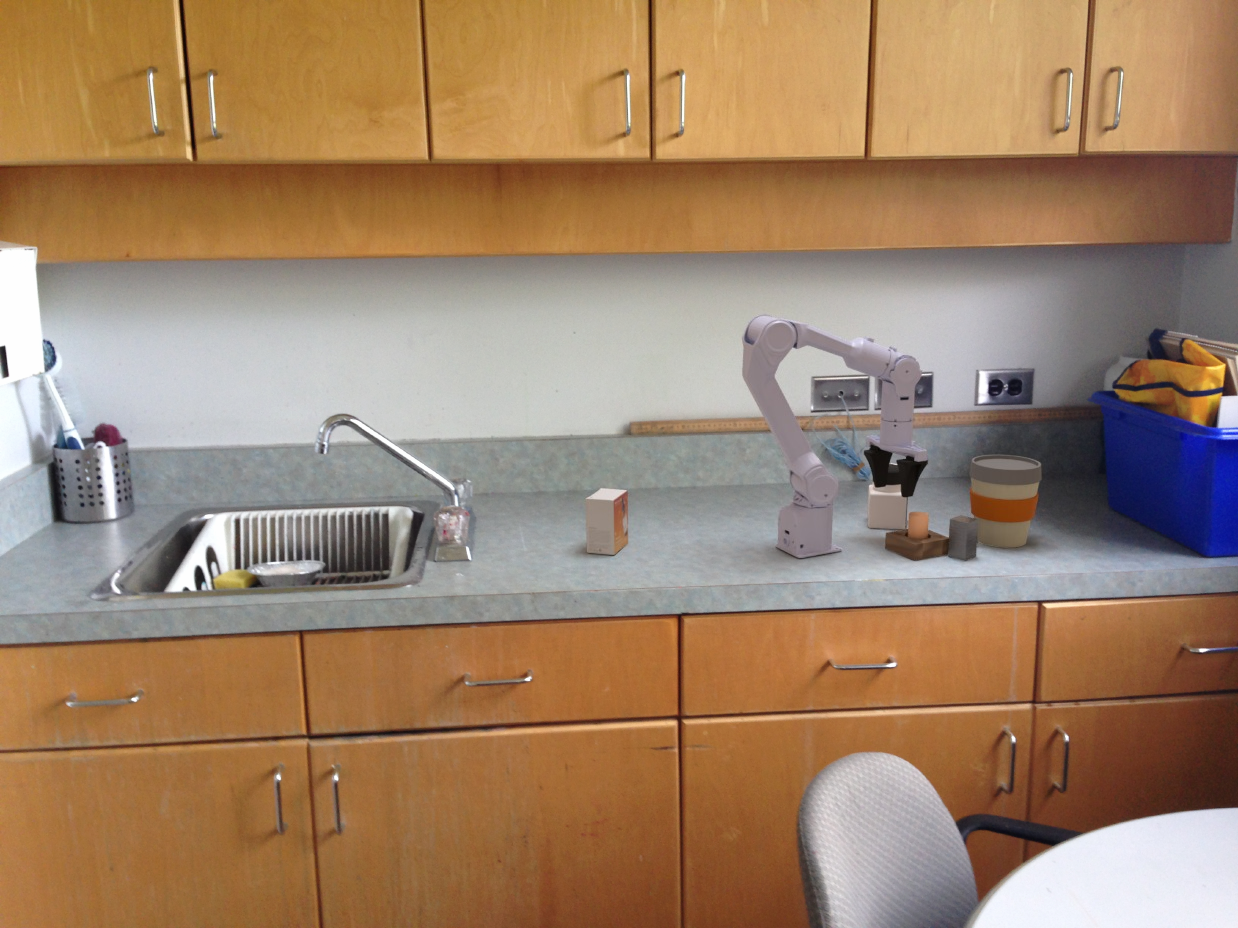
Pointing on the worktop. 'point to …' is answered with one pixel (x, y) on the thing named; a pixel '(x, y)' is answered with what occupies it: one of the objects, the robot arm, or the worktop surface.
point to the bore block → (917, 545)
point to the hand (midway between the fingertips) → (893, 491)
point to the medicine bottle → (887, 503)
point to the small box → (607, 521)
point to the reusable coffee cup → (1004, 498)
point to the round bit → (918, 525)
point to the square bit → (963, 537)
